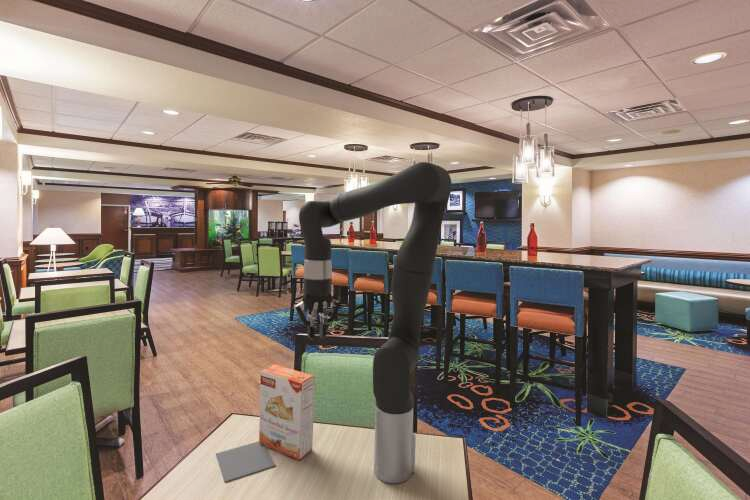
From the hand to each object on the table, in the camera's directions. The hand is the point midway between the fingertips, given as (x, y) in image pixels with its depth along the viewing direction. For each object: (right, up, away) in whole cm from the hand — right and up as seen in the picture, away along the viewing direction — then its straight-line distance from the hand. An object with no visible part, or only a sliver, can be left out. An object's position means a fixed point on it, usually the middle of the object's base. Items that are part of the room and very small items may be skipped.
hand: (317, 338), depth 106 cm
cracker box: (-8, -29, -2) cm, 30 cm away
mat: (-17, -30, -7) cm, 35 cm away
